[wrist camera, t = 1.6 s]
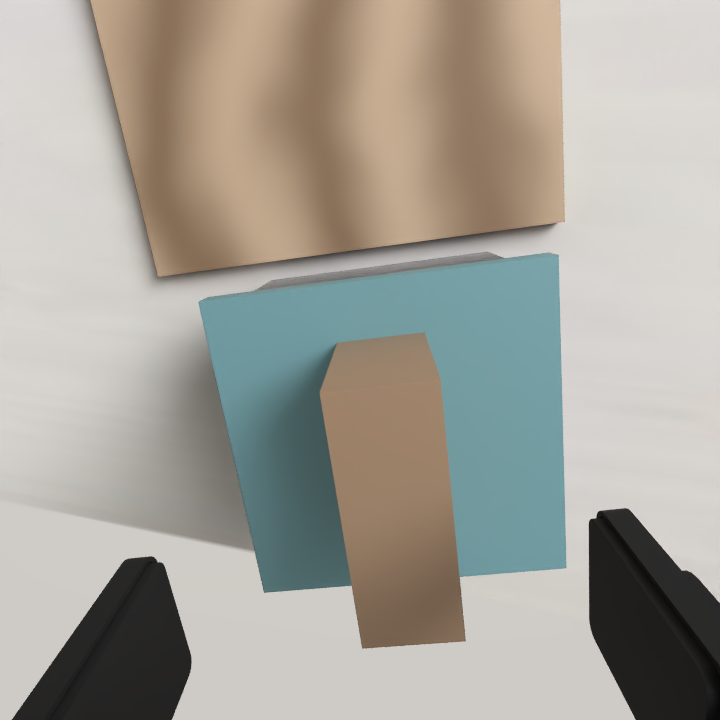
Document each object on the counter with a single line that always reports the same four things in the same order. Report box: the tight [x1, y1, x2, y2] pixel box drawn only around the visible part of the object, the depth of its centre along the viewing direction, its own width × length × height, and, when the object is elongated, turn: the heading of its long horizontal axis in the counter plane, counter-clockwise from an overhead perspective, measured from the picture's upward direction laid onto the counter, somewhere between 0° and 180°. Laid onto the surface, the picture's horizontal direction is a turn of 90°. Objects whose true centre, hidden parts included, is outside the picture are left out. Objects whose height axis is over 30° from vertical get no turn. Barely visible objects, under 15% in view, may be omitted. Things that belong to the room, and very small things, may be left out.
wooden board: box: [90, 0, 565, 277], centre depth 23 cm, size 20×16×1 cm
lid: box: [198, 253, 566, 648], centre depth 17 cm, size 12×12×8 cm
